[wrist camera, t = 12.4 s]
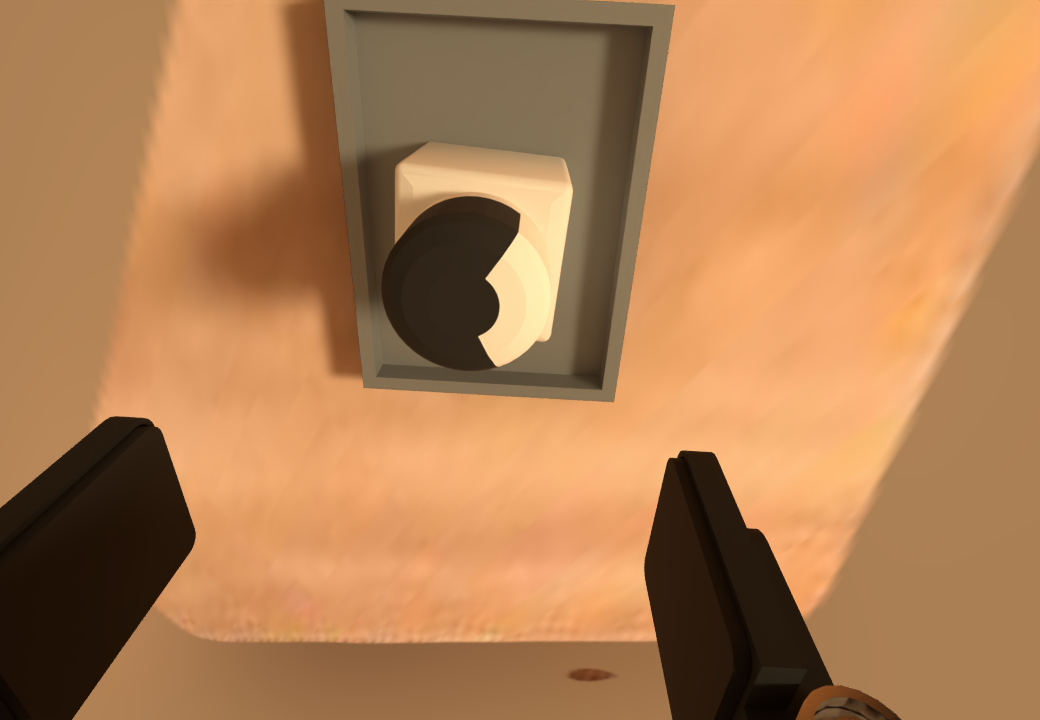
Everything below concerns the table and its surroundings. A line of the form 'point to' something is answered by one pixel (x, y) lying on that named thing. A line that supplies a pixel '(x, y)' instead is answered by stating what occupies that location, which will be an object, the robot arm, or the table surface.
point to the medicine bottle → (476, 253)
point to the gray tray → (511, 127)
